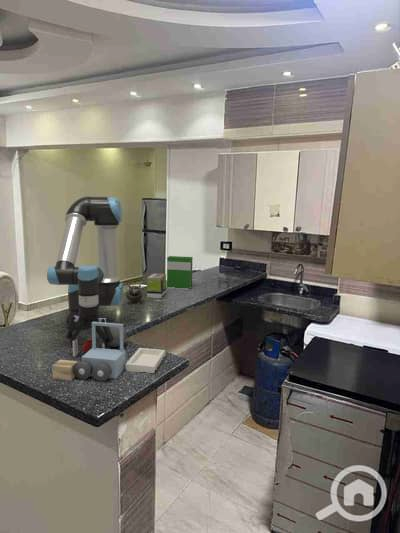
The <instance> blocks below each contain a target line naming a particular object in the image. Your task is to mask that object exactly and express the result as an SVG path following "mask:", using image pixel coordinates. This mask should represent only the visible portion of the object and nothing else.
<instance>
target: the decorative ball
mask: <svg viewBox="0 0 400 533" xmlns="http://www.w3.org/2000/svg"><path fill="white" fill-rule="evenodd" d="M109 329H110V331H111V334H112V336H113V338H114V340H113V341H112V342H109V347H111V348H112V347H113V348H117V347H120V327H109ZM104 333H105V332H104ZM126 336H127V332H126V329H125V327H123V343H124V342H125V340H126V338H127V337H126Z"/></svg>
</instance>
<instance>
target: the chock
mask: <svg viewBox="0 0 400 533" xmlns="http://www.w3.org/2000/svg"><path fill="white" fill-rule="evenodd" d="M78 363H79V361H75V360H66V359H59V360H58V361H56V362H55V363H53V364H52V366H51V368H52V372H51V374H52V379H54V380H62V381H70V382H71V381H72V380H74V379H75V378H77V377H76V375H75V374H74V367H75V366H76V365H77V364H78Z"/></svg>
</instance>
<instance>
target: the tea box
mask: <svg viewBox="0 0 400 533" xmlns="http://www.w3.org/2000/svg"><path fill="white" fill-rule="evenodd" d="M165 293H166V294H167V273H151V274H150V275H148V276H147V277H146V298H147V297H151V298H161V299H162V298H163V297H164V296H165V295H166V294H165ZM164 294H165V295H164ZM163 295H164V296H163ZM162 296H163V297H162Z"/></svg>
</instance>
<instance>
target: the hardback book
mask: <svg viewBox="0 0 400 533" xmlns="http://www.w3.org/2000/svg"><path fill="white" fill-rule="evenodd" d="M193 258H194V257H193V256H180V255H179V256H177V255H176V256H175V255H169V256H167V258H166V261H167V262H166V263H167V264H166V266H167V267H166V268H167V270H166V288H167V287H175V288H188V289H190V290H191V288H190V287H192V288H193Z"/></svg>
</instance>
